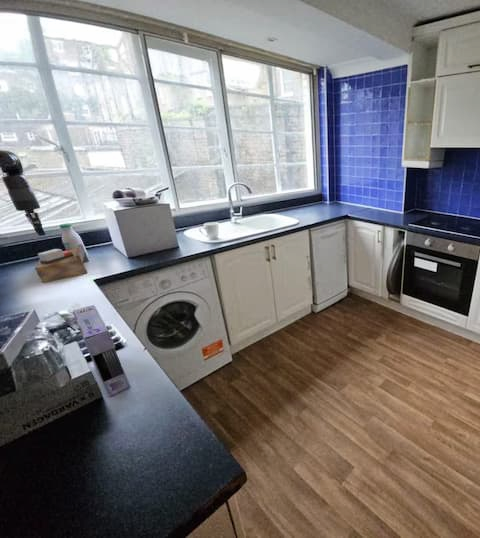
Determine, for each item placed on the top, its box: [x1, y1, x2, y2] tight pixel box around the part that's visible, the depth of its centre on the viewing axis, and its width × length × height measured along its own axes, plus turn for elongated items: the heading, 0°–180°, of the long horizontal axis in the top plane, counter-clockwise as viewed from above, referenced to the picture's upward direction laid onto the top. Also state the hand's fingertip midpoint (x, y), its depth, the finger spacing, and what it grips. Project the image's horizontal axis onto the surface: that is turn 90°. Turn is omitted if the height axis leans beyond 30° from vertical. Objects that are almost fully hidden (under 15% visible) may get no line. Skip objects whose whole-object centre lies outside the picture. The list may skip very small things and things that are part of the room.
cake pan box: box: [72, 304, 131, 398], centre depth 74 cm, size 19×5×18 cm, turn 48°
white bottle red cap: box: [37, 248, 74, 264], centre depth 142 cm, size 11×5×5 cm, turn 164°
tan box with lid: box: [34, 244, 90, 284], centre depth 147 cm, size 16×24×10 cm, turn 39°
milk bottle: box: [59, 222, 90, 258], centre depth 161 cm, size 8×8×20 cm
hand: (40, 233), depth 137 cm, fingers open, 8 cm apart
